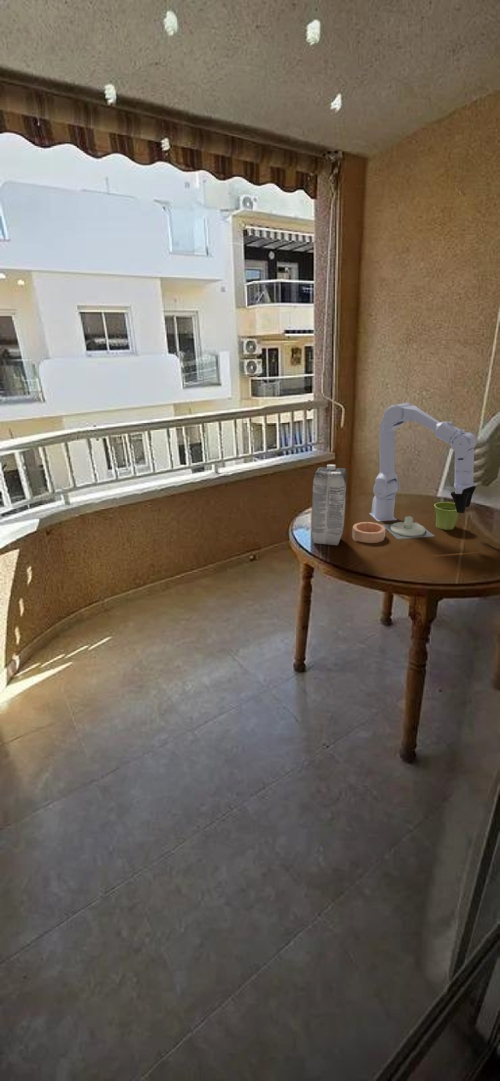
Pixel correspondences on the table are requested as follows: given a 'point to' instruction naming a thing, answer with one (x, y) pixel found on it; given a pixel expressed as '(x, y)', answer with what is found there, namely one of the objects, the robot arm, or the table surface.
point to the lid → (407, 528)
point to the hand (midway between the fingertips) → (463, 509)
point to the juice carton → (328, 505)
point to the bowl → (368, 532)
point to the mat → (426, 534)
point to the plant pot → (445, 515)
